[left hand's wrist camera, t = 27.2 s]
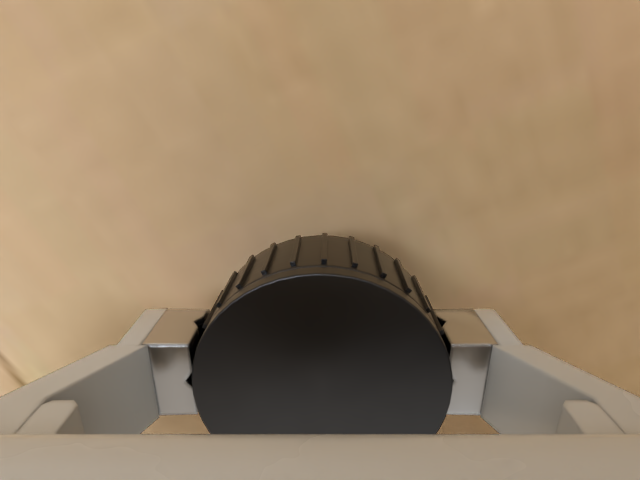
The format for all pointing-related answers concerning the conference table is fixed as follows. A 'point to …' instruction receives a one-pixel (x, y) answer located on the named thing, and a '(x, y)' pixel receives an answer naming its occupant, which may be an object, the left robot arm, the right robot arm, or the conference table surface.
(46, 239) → the conference table surface
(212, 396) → the lid
